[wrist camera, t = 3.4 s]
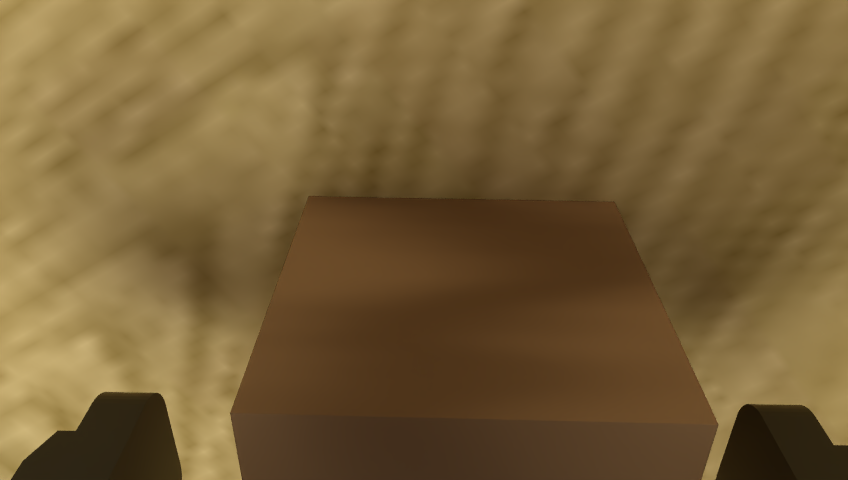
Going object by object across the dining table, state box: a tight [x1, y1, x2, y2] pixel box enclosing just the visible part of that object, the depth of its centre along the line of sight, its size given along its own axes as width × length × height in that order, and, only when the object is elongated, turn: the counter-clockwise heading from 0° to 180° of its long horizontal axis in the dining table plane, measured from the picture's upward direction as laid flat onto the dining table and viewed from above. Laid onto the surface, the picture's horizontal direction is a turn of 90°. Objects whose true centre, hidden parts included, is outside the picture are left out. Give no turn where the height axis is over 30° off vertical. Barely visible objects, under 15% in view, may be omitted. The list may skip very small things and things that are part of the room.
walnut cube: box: [230, 196, 718, 480], centre depth 11 cm, size 5×5×5 cm
